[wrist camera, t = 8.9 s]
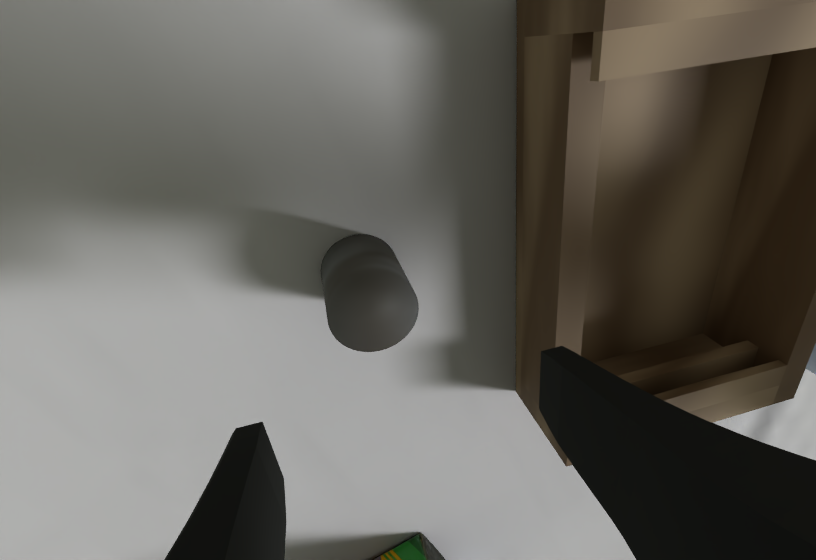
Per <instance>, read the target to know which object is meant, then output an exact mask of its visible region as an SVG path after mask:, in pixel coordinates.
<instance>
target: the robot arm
mask: <svg viewBox="0 0 816 560" xmlns="http://www.w3.org/2000/svg"><path fill="white" fill-rule="evenodd" d="M806 369H808V370H809V371H811V372H813V373H814V374H816V343H815V346H814V348H813V351H812V353H811V356H810V358H809V361H808V363H807V366H806ZM539 410H540V412H541V414H542V416H543V418H544V419H545V421H546V423H547V425H548V427H549V429H550V431H551V432H552V434H553V436H554V438H555V440H556V441H557V443H558V445H559V446H560V448H561V449H562V450H563V452H564V453H565V455H566V456H567V458H568V459H569V460H570V462H571V463H572V465H573V466H574V468H575V469H576V470H577V472H578V473H579V475H580V476H581V477H582V479H583V480H584V482H585V483H586V484H587V486H588V487H589V489H590V490H591V491H592V493H593V494H594V496H595V497H596V498H597V500H598V501H599V503H600V504H601V505H602V507H603V508H604V510H605V511H606V512H607V514H608V515H609V517H610V518H611V519H612V521H613V522H614V524H615V525H616V527H617V528H618V530H619V531H620V533H621V535H622V536H623V538H624V539H625V541H626V543H627V544H628V546H629V548H630V549H631V551H632V553H633V555H634V556H635V558H636V560H816V460H812V459H809V458H806V457H803V456H800V455H797V454H794V453H791V452H788V451H785V450H782V449H779V448H777V447H774V446H771V445H768V444H765V443H762V442H759V441H757V440H754V439H751V438H749V437H746V436H743V435H741V434H738V433H736V432H733V431H731V430H729V429H726V428H724V427H721V426H719V425H716V424H714V423H712V422H709V421H707V420H704V419H702V418H700V417H698V416H695V415H693V414H691V413H689V412H687V411H684V410H682V409H680V408H678V407H676V406H674V405H672V404H670V403H668V402H666V401H664V400H662V399H660V398H658V397H656V396H654V395H652V394H650V393H648V392H646V391H644V390H642V389H640V388H638V387H636V386H634V385H633V384H631V383H629V382H627V381H625V380H623V379H621V378H620V377H618V376H616V375H614V374H612V373H611V372H609V371H607V370H605V369H603V368H602V367H600V366H598V365H596V364H595V363H593V362H591V361H589V360H588V359H586V358H584V357H582V356H580V355H579V354H577V353H575V352H573V351H571V350H569V349H568V348H566V347H564V346H559V347H555V348H551V349H547V350H543V351H541V363H540V390H539ZM285 536H286V507H285V490H284V478H283V475H282V472H281V470H280V467H279V465H278V462H277V459H276V457H275V454H274V451H273V449H272V446H271V443H270V441H269V438H268V435H267V433H266V430H265V427H264V425H263V422H259V423H255V424H251V425H248V426H244V427H240V428H236V429H235V431H234V432H233V434H232V436H231V438H230V440H229V442H228V444H227V446H226V449H225V451H224V453H223V455H222V457H221V459H220V461H219V463H218V465H217V467H216V469H215V471H214V473H213V475H212V477H211V479H210V481H209V483H208V485H207V486H206V488H205V490H204V492H203V494H202V496H201V498H200V499H199V501H198V503H197V505H196V507H195V509H194V510H193V512H192V514H191V516H190V518H189V519H188V521H187V523H186V525H185V526H184V528H183V530H182V531H181V533H180V535H179V536H178V538H177V540H176V541H175V543H174V545H173V546H172V548H171V550H170V551H169V553H168V555H167V556H166V558H165V560H284V554H285Z"/></svg>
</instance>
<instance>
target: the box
mask: <svg viewBox="0 0 816 560" xmlns="http://www.w3.org/2000/svg"><path fill="white" fill-rule="evenodd" d="M815 343H816V0H517V129H516V392H517V394H518V395H519V397H520V398H521V400H522V401H523V403H524V404H525V406H526V407H527V409H528V410H529V412H530V413H531V415H532V416H533V418H534V419H535V421H536V422H537V424H538V425H539V426H540V428H541V429H542V431H543V432H544V434H545V435H546V437H547V438H548V440H549V441H550V443H551V444H552V446H553V447H554V449H555V450H556V452H557V453H558V455H559V456H560V458H561V459H562V461H563V462H564V464H565V465H566V466H570V465H572V463H571V462H570V460H569V459H568V458H567V456H566V455H565V453H564V452H563V450H562V449H561V448H560V446H559V445H558V443H557V441H556V440H555V438H554V436H553V434H552V432H551V431H550V429H549V427H548V425H547V423H546V421H545V419H544V418H543V416H542V414H541V412H540V410H539V390H540V363H541V351H543V350H547V349H551V348H555V347H559V346H564V347H566V348H568V349H569V350H571V351H573V352H575V353H577V354H579V355H580V356H582V357H584V358H586V359H588V360H589V361H591V362H593V363H595V364H596V365H598V366H600V367H602V368H603V369H605V370H607V371H609V372H611V373H612V374H614V375H616V376H618V377H620V378H621V379H623V380H625V381H627V382H629V383H631V384H633V385H634V386H636V387H638V388H640V389H642V390H644V391H646V392H648V393H650V394H652V395H654V396H656V397H658V398H660V399H662V400H664V401H666V402H668V403H670V404H672V405H674V406H676V407H678V408H680V409H682V410H684V411H687V412H689V413H691V414H693V415H695V416H698V417H700V418H702V419H704V420H707V421H709V422H716V421H719V420H722V419H726V418H729V417H732V416H736V415H739V414H742V413H745V412H749V411H752V410H755V409H759V408H762V407H765V406H769V405H772V404H775V403H779V402H782V401H785V400H789V399H792V398H794V395H795V393H796V390H797V388H798V386H799V383H800V381H801V378H802V376H803V373H804V371H805V368H806V366H807V363H808V361H809V358H810V356H811V353H812V351H813V348H814V346H815Z"/></svg>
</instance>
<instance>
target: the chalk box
mask: <svg viewBox="0 0 816 560" xmlns="http://www.w3.org/2000/svg"><path fill="white" fill-rule="evenodd" d="M374 560H445V559H444V557H443V556H442V555H441V554H440V553H439V551H438V550H437V549H436V548H435V547H434V546H433V544H432V543H430V542H429V540H428V539H427V538H426V537H425V536H424V535H423V534H418V535H416V536H414V537H413V538H411V539H409V540H407V541H406V542H404V543H402V544H401V545H399V546H397V547H395V548H393V549H392V550H390V551H388V552H386V553H385V554H383V555H381V556H379V557H377V558H376V559H374Z"/></svg>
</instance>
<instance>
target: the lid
mask: <svg viewBox="0 0 816 560" xmlns="http://www.w3.org/2000/svg"><path fill="white" fill-rule="evenodd" d="M321 277H322V284H323V291H324V298H325V305H326V312H327V319H328V325H329V328H330V330H331V332H332V334H333V335H334V337H335V338H336V339H337V340H338V341H339V342H340V343H342V344H343V345H344V346H346V347H348V348H351V349H353V350H357V351H363V352H374V351H380V350H384V349H387V348H389V347H391V346H393V345H395V344H397V343H398V342H400V341H401V340H402V339H403V338H405V337H406V336H407V335H408V333H409V332H410V331H411V329H412V328H413V326H414V324H415V322H416V319H417V316H418V300H417V297H416V294H415V292H414V290H413V288H412V287H411V285H410V283H409V281H408V279H407V277H406V275H405V273H404V271H403V269H402V267H401V266H400V264H399V262H398V260H397V258H396V256H395V254H394V252H393V250H392V249H391V248H390V246H389V245H388V244H387V243H385V242H384V241H383V240H381V239H379V238H377V237H374V236H371V235H364V234H358V235H352V236H348V237H346V238H343V239H341V240H339V241H338V242H337V243H335V244H334V245H333V246H332V247H331V248H330V249H329V250H328V251H327V253H326V255H325V256H324V259H323V261H322V265H321Z"/></svg>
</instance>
